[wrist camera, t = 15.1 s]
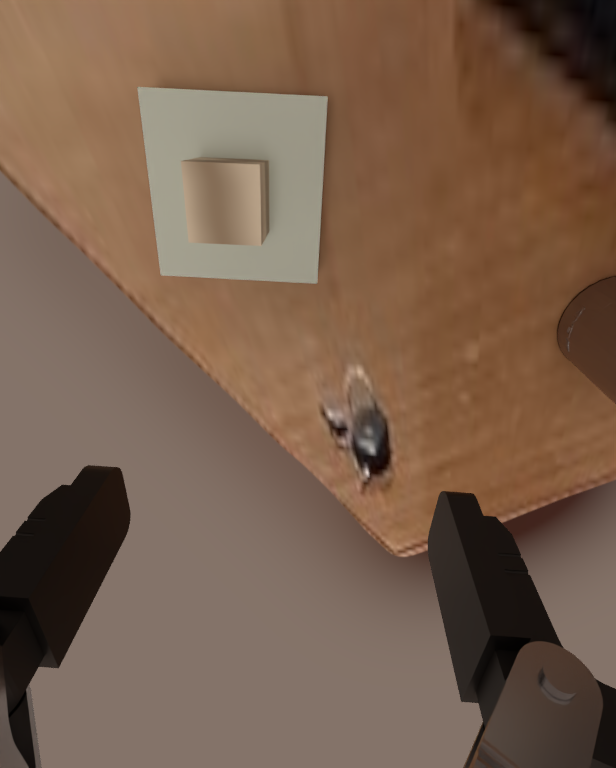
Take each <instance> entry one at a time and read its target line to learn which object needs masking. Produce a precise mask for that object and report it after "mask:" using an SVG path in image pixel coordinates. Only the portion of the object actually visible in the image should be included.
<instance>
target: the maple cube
mask: <svg viewBox="0 0 616 768" xmlns="http://www.w3.org/2000/svg"><path fill="white" fill-rule="evenodd" d="M181 168H182V179H183V189H184V200H185V210H186V221H187V231H188V242H189V243H208V244H229V245H251V246H262V244H263V242H264V240H265V239H266V237H267V235H268V233H269V160H256V159H233V158H210V157H198V158H193V159H189V160H184V161H181Z"/></svg>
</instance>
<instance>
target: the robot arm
mask: <svg viewBox="0 0 616 768" xmlns="http://www.w3.org/2000/svg"><path fill="white" fill-rule="evenodd" d="M558 343H559V346H560V349H561V351H562V352H563V354H564V355H565V356H566V357H567V358H568V359H569V360H570V361H571V362H572V363H573V364H574V365H575V366H576V367H577V368H578V369H579V370H580V371H581V372H582V373H583V374H584V375H585V376H586V377H587V378H588V379H589V380H591V381H592V382H593V383H594V384H595V385H596V386H597V387H598V388H599V389H600V390H601V391H602V392H603V393H604V394H605V395H606V396H608V397H609V398H610V399H611V400H612V401H613V402H614V403H615V404H616V277H611V278H608V279H605V280H602V281H600V282H598V283H596V284H594V285H592V286H590V287H588V288H587V289H586V290H584V291H583V292H582V293H580V294H579V295H578V296H577V297H576V298H575V299H574V300H573V301H572V302H571V303H570V305H569V306H568V308H567V309H566V310H565V312H564V314H563V316H562V318H561V320H560V324H559V328H558ZM129 524H130V507H129V503H128V498H127V493H126V488H125V484H124V479H123V475H122V471H121V469H120V468H118V467H104V466H90V465H88V466H86V467H84V468H83V469H82V471H81V472H80V473H79V475H78V476H77V478H76V479H75V480H74V481H73V483H72V484H71V485H61V486H60V487H58V488H57V489H56V490H54V491H53V492H51V493H50V494H49V495H47V496H46V497H44V498H43V499H42V500H41V501H40V502H39V504H38V505H37V506H36V508H35V509H34V510H33V511H32V512H31V514H30V515H29V516H28V520H27V521H24V523H23V524H22V525H21V526H20V528H19V529H18V530H17V531H16V535H15V536H12V538H11V539H10V540H9V542H8V543H7V544H6V545H5V547H4V548H3V549H2V551H1V552H0V768H42V767H41V760H40V753H39V745H38V738H37V730H36V723H35V716H34V708H33V701H32V694H31V688H30V685H29V683H30V681H31V679H32V678H33V676H34V674H35V672H36V671H37V669H38V667H51V668H59V666H60V664H61V662H62V660H63V659H64V657H65V655H66V653H67V651H68V648H69V647H70V645H71V643H72V641H73V639H74V637H75V635H76V633H77V631H78V629H79V627H80V625H81V623H82V621H83V619H84V617H85V615H86V613H87V611H88V609H89V607H90V606H91V604H92V602H93V600H94V598H95V596H96V594H97V592H98V590H99V588H100V586H101V584H102V582H103V580H104V578H105V576H106V574H107V572H108V570H109V568H110V566H111V564H112V562H113V560H114V558H115V557H116V555H117V552H118V551H119V549H120V547H121V545H122V543H123V541H124V539H125V537H126V535H127V532H128V529H129ZM428 556H429V561H430V566H431V570H432V575H433V579H434V583H435V588H436V592H437V597H438V601H439V606H440V610H441V614H442V619H443V623H444V628H445V632H446V636H447V641H448V645H449V650H450V654H451V658H452V663H453V667H454V672H455V676H456V681H457V685H458V690H459V694H460V698H461V701H462V702H472V703H473V702H474V703H479V706H480V710H481V714H482V718H483V723H482V725H481V727H480V729H479V732H478V734H477V736H476V739H475V741H474V743H473V746H472V748H471V750H470V753H469V755H468V758H467V760H466V762H465V764H464V767H463V768H616V689H615V688H612V687H610V686H608V685H605V684H603V683H601V682H600V681H598V680H596V679H595V678H594V676H593V675H592V673H591V672H590V671H589V669H588V668H587V667H586V666H585V665H584V664H583V663H582V662H581V661H580V660H579V659H578V658H577V657H576V656H575V655H573V654H572V653H570V652H569V651H567V650H566V649H564V648H563V646H562V645H561V643H560V641H559V639H558V637H557V635H556V632H555V630H554V628H553V626H552V623H551V621H550V619H549V617H548V614H547V612H546V610H545V608H544V605H543V603H542V601H541V599H540V596H539V594H538V592H537V590H536V587H535V585H534V583H533V581H532V578H531V576H530V575H528V570H527V567H526V565H525V563H524V561H523V559H522V558H521V554H520V552H519V549H518V547H517V545H516V543H515V540H514V538H513V536H512V534H511V533H510V532H509V531H508V530H507V529H506V528H505V527H504V525H503V524H502V523H501V522H500V521H499V520H498V519H497V518H496V517H492V516H483V514H482V511H481V509H480V506H479V503H478V501H477V499H476V497H475V495H474V494H472V493H461V492H447V491H442V492H441V493H440V495H439V497H438V501H437V505H436V509H435V512H434V516H433V520H432V524H431V527H430V531H429V536H428Z"/></svg>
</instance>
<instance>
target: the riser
mask: <svg viewBox="0 0 616 768" xmlns="http://www.w3.org/2000/svg"><path fill="white" fill-rule="evenodd" d="M137 88H138V96H139V104H140V112H141V120H142V128H143V136H144V144H145V152H146V160H147V168H148V177H149V185H150V193H151V201H152V209H153V217H154V225H155V233H156V241H157V249H158V257H159V265H160V273H161V275H165V276H184V277H202V278H221V279H239V280H258V281H276V282H295V283H313V284H317V279H318V261H319V244H320V226H321V208H322V190H323V172H324V154H325V136H326V118H327V100H328V96H309V95H289V94H269V93H249V92H229V91H209V90H189V89H170V88H150V87H137ZM198 157H210V158H233V159H256V160H269V233H268V235H267V237H266V239H265V240H264V242H263V244H262V246H251V245H229V244H208V243H189V242H188V231H187V221H186V210H185V200H184V189H183V179H182V168H181V161H184V160H189V159H193V158H198Z"/></svg>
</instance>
